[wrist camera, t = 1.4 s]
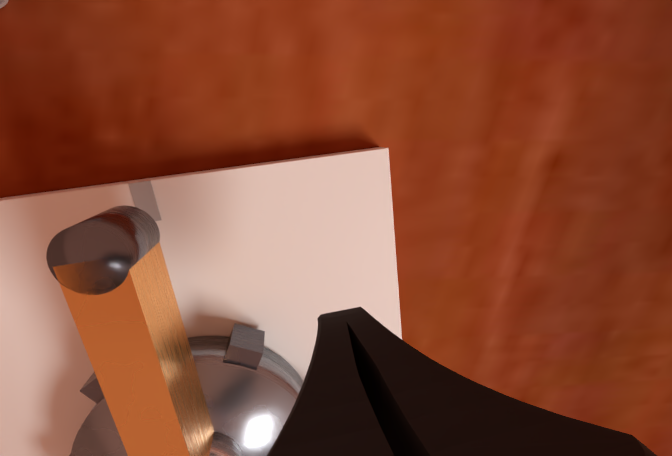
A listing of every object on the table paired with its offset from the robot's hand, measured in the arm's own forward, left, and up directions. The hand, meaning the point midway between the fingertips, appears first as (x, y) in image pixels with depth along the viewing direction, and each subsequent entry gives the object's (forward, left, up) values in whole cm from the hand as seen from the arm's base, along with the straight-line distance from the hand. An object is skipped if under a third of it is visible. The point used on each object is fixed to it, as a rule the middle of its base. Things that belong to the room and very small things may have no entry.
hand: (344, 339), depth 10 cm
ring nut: (-4, +6, -5) cm, 9 cm away
